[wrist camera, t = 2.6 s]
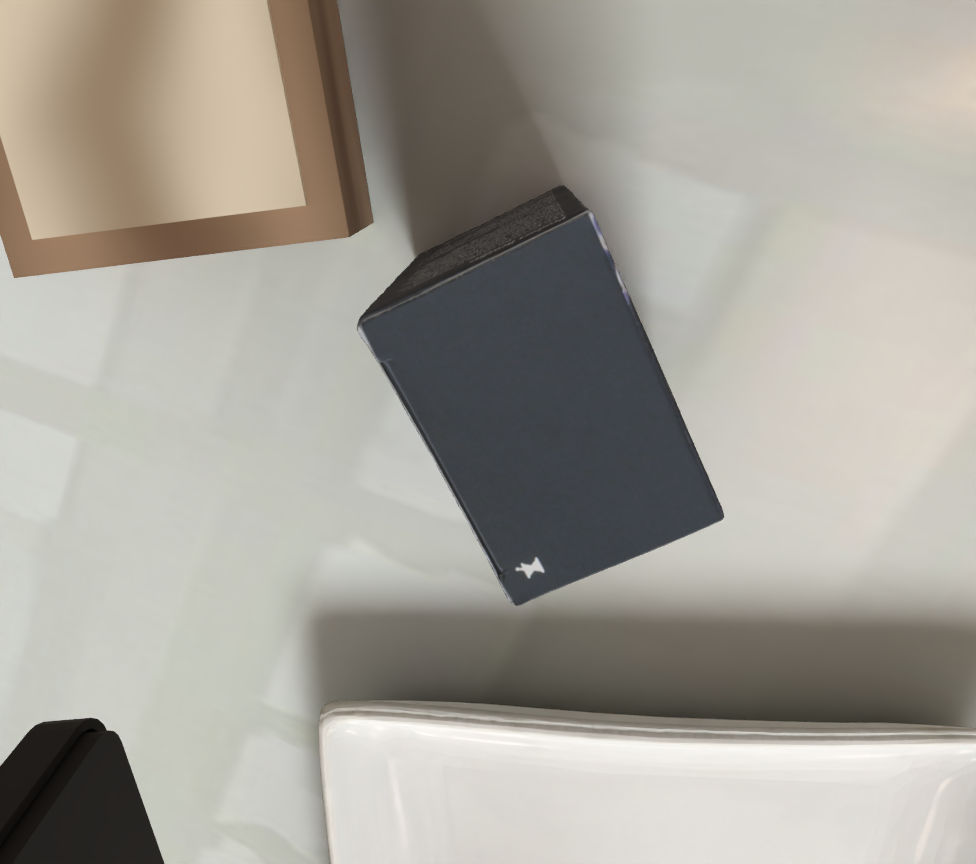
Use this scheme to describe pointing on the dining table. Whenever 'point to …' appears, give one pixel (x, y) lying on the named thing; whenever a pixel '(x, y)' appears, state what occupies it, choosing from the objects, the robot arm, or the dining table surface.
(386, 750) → the square plate
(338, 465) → the dining table surface
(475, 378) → the box
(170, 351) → the dining table surface
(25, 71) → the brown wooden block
